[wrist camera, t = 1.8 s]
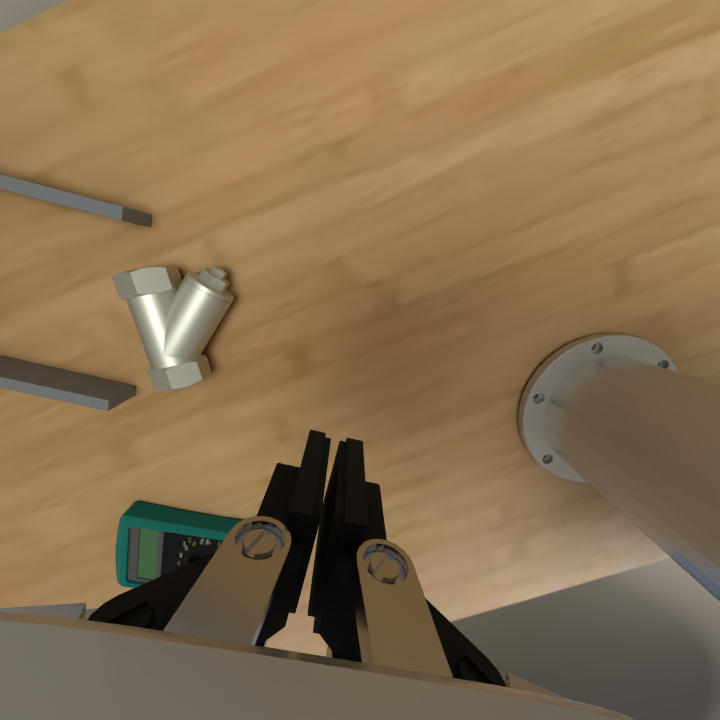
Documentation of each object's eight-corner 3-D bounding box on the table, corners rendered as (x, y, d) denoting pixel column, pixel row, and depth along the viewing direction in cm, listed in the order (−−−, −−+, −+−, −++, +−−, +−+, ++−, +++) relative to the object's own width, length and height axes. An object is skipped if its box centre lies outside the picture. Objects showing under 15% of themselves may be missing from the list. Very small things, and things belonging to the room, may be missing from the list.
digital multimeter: (290, 586, 32) (284, 616, 29) (131, 562, 31) (109, 592, 28) (303, 522, 30) (299, 548, 27) (135, 495, 29) (112, 519, 26)
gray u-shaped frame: (151, 214, 23) (122, 206, 20) (134, 395, 26) (107, 410, 23) (-49, 161, 22) (-110, 144, 19) (-40, 356, 25) (-91, 368, 22)
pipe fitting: (229, 257, 24) (136, 275, 24) (211, 254, 21) (101, 275, 20) (258, 361, 26) (173, 379, 26) (247, 375, 23) (147, 396, 22)
